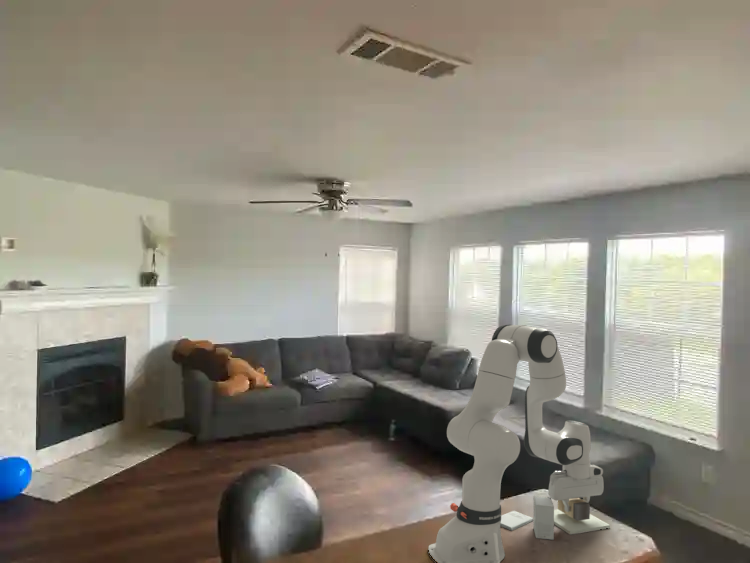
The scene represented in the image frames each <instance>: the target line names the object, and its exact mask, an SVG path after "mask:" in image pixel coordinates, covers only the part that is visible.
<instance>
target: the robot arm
mask: <svg viewBox="0 0 750 563" xmlns="http://www.w3.org/2000/svg"><path fill="white" fill-rule="evenodd" d="M520 361H522V362H528V372H529V380H530V381H529V385H528V386H527V387H526V389H525V393H524V419H525V420H524V423H525V424H524V426H525V430H524V431H525V432H524V436H523V445H524V446H523V447H524V448H525V450H526V452H527V453H528V455H529V456H531V457H534V458H539V459H543V460H546V461H548V462H551V463H555V464H558V465H561V466H562V470H554V471H553V473H551V474H550V476H549V484H548V493H547V494H548V497H549V498H551V500H554V501H556V502H558V500H562V502H563V504H564V505H565V507H564V509H565V511H566V512H571V506H569V504H568V502H569V499H573V498H580V499H581V498H583V499H582V500H584V501H585V502H587V503H589V502H590V499H591V497H594V496H595V497H596V496H602V494H603V493H604V491H605V490H604V489H605V488H604V486H605V485H604V477H603V474H604V469H603V468H602V467H599V466H598V465H595V464H593V463H591V457H590V453H591V446H592V445H591V444H592V443H591V441H592V440H591V431H590V430H591V429H590V428H589V425H588V424H586V423H584V422H580V421H576V420H572V419H571V420H570V419H569V420H566V421H565V422H564V426H563V428H561V430H559V431H558V432H557V431H552V430H549V429H547V428H546V426H544V424H543V423H544V422H543V404H544V403H546V402H550V401H554V400H556V399H557V398H559V397H560V396H562V395H563V393H564V392H565V391H566V387H567V378H566V377H567V376H566V371H565V366H564V365H565V364H564V361H563V358H562V354H561V351H560V349H559V346H558V340H557V338H556V336H555V334H554V333H553V332H552V331H551V330H549V329H547V328H544V327H535V326H528V325H526V324H502V325H501V326H499V327H498V326H497V328H496V329H495V330H494V332H493V335H492V337H491V341H489V342H488V344H487V346H486V348H485V350H484V352H483V355H482V358H481V361H480V364H479V367H478V371H477V375H476V379H475V384H474V387H473V390H472V394H471V397H470V398H469V401H468V402H467V404H466V405H465V407H464V408H463V409H462V411H461V412H460V413H459V414H457V415H456V416H453V417H452V419H450V421H449V422H448V424H447V428H446V437H447V440H448V442H449V443H450V444H451V445H453V447H455V448H457V450H459V451H461V452H463V453H465V454H468V455H471V456H473V458H474V461H473V462H474V463H473V466H472V468H471V469H470V470H468V471H466V472H465V474H463V476H462V479H461V480H462V483H461V484H462V485H461V486H462V487H461V488H462V489H461V490H462V492H461V496H462V497H461V501H460V504H459V505H457V504H456V503H455V502H452V503H451V504H450V505H449V508H450V510H452V511H453V512H454V513H456V515H455V516H454V517H453V518H451V519H450V520H449V521H448V522H446V524H445V525H443V526H442V527H440V528H439V530H438V532H437V535H436V540H435V542H434V543H431V544H429V545H428V547H427V548H428V550H429V552H428V554H429V553H430V555H431V556H432V557H433V559H435V561H437V562H438V563H501V562H502V561H503V559H505V556H506V553H505V549H504V546H503V540H502V531H501V526H500V522H501V515H502V505H501V486H502V484H501V483H502V479H503V475H504V472H505V470H506V469H507V468H508V467H509V466H510V465H512V464H513V463H514V462H515V461H517V459H518V458H519V455H520V452H521V441H520V439H519V436H518V435H517V433H515V432H514V431H512V430H510V429H508V428H507V427H505V426H504V425H502V424H498V423H494V422H493V421H494V418H495V417H496V416H497V414H498V413H499V412H500V411H502V410H504V409H507V408H508V406H509V405H510V403H511V398H512V394H513V389H514V385H515V379H516V375H517V371H518V370H517V369H518V368H517V367H518V364H519V362H520ZM428 550H427V551H428ZM430 555H429V556H430ZM431 556H430V557H431ZM433 559H432V560H433ZM435 561H434V562H435Z"/></svg>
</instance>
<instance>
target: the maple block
mask: <svg viewBox="0 0 750 563" xmlns="http://www.w3.org/2000/svg"><path fill="white" fill-rule="evenodd" d="M568 504H569V506H571V512H566V511H565V509H564V507H565V505H564V504H563V502H562V500H558V501H557V509H559V510H560V511H562V512H564V513H565V514H567V515H569V516H570V517H572V518H573V519H575V520H577V521H579V520H586V519H590V514H591V509H590V508H591V503H589V502H588V503H587V502H585V501H584V500H583V499H581V498H573V499H569V502H568Z"/></svg>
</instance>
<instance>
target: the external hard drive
mask: <svg viewBox="0 0 750 563" xmlns="http://www.w3.org/2000/svg"><path fill="white" fill-rule="evenodd" d="M532 522H533V516H529V515H526V514H524V513H521V512H518V511H516V510H511V511H509V512H507V513H504V514H501V522H500V528H501V527H502V528H505V529H506V530H509V531H514V530H516V529H519V528H521V527H522V526H525V525H527V524H530V523H532Z"/></svg>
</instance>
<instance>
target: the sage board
mask: <svg viewBox="0 0 750 563" xmlns="http://www.w3.org/2000/svg"><path fill="white" fill-rule="evenodd" d="M554 526H556V527H558V528H560V530H562V531H564V532H565V533H567V534H568V535H577V534H581V533H587V532H594V531H601V530H600V529H602V530H607V529H606V528H608V529H610V528H611V524H609V523H607V522H606V521H604V520H601V519H600V518H598V517H596V516H595V515H593V514H591V513H590V519H586V520H579V521H577V520H575V519H573V518H572V517H570V516H569V515H567V514H565V513H564V512H562V511H560V510H559V509H558V508H556V509H555V508H554Z"/></svg>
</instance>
